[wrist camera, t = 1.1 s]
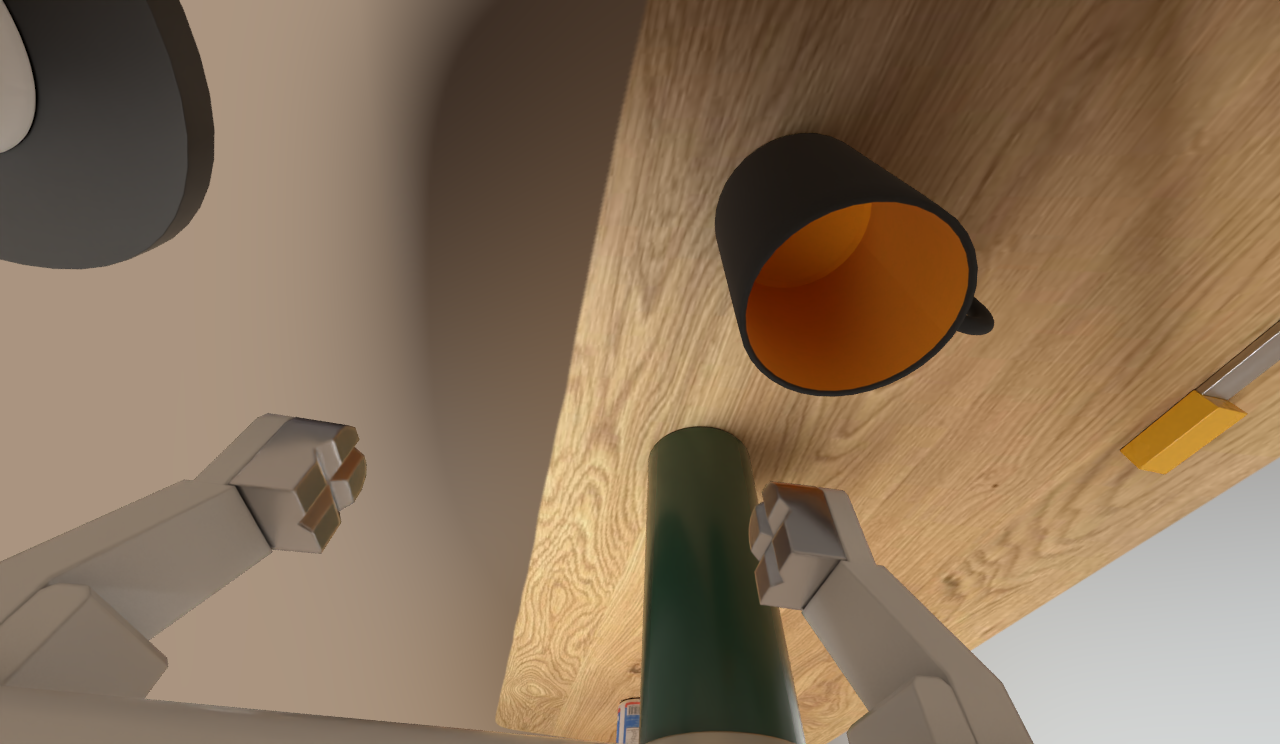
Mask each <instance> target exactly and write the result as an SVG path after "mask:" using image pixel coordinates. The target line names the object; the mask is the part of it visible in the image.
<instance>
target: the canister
mask: <svg viewBox="0 0 1280 744" xmlns="http://www.w3.org/2000/svg"><path fill="white" fill-rule="evenodd" d="M758 504H759V503H758V498H757V493H756V488H755V483H754V478H753V473H752V468H751V463H750V458H749V453H748V451H747V449H746V447H745V446H744V444H743V443H742V442H741V441H740V440H739V439H738V438H736V437H735V436H733V435H732V434H730V433H728V432H725V431H723V430H720V429H715V428H709V427H691V428H685V429H682V430H678V431H675V432H673V433H671V434H669V435H667V436H665V437H664V438H662V439H661V440H660V441H659V442H658V443H657V444H656V445H655V446H654V448H653V449H652V451H651V453H650V456H649V464H648V492H647V520H646V549H645V577H644V605H643V633H642V662H641V690H640V718H639V744H806V742H805V737H804V732H803V727H802V722H801V717H800V711H799V706H798V701H797V696H796V691H795V686H794V681H793V676H792V671H791V666H790V661H789V656H788V651H787V645H786V640H785V635H784V630H783V625H782V620H781V615H780V610H779V607H774V606H767V605H760V601H759V596H758V590H757V584H756V579H755V573H754V572H755V570H756V568H757V566H758V564H759V563H760V562H759V561H758V559H757V558H756V557H755V556H754V555H753V553H752V552H751V549H750V543H749V524H750V518H751V515H752V512H753V510H754V508H755V506H756V505H758Z"/></svg>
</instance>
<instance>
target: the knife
mask: <svg viewBox="0 0 1280 744" xmlns="http://www.w3.org/2000/svg"><path fill="white" fill-rule="evenodd" d="M1279 360H1280V321H1279V322H1278V323H1277V324H1275V325H1274V326H1273V327H1272V328H1271V329H1269V330H1268V331H1267V332H1266V333H1264V334H1263V335H1262V336H1261V337H1260V338H1258V339H1257V340H1256V341H1255V342H1253V343H1252V344H1251V345H1250V346H1249V347H1247V348H1246V349H1245V350H1244V351H1242V352H1241V353H1240V354H1239V355H1238V356H1236V357H1235V358H1234V359H1233V360H1231V361H1230V362H1229V363H1228V364H1227V365H1225V366H1224V367H1223V368H1222V369H1220V370H1219V371H1218V372H1217V373H1216V374H1214V375H1213V376H1212V377H1211V378H1209V379H1208V380H1207V381H1206V382H1205V383H1203V384H1202V385H1201V386H1200V387H1198V388H1197V389H1196V390H1193V391H1192V392H1191V393H1189V394H1188V395H1187V396H1186V397H1185V398H1183V399H1182V400H1181V401H1180V402H1179V403H1177V404H1176V405H1175V406H1174V407H1172V408H1171V409H1170V410H1169V411H1168V412H1166V413H1165V414H1164V415H1163V416H1161V417H1160V418H1159V419H1158V420H1157V421H1155V422H1154V423H1153V424H1152V425H1150V426H1149V427H1148V428H1147V429H1146V430H1144V431H1143V432H1142V433H1141V434H1139V435H1138V436H1137V437H1136V438H1135V439H1133V440H1132V441H1131V442H1130V443H1129V444H1127V445H1126V446H1125V447H1124V448H1122V449H1121V450H1120V452H1121V453H1123V454H1124V455H1125V456H1126V457H1127V458H1128V459H1129V460H1130V461H1131V462H1132V463H1133V464H1134V465H1135V466H1136V467H1137V468H1139V469H1141V470H1146V471H1151V472H1156V473H1161V474H1167V473H1168V472H1169V471H1171V470H1172V469H1174V468H1175V467H1176V466H1178V465H1179V464H1180V463H1182V462H1183V461H1185V460H1186V459H1187V458H1189V457H1190V456H1191V455H1193V454H1194V453H1195V452H1197V451H1198V450H1200V449H1201V448H1202V447H1204V446H1205V445H1206V444H1208V443H1209V442H1210V441H1212V440H1213V439H1215V438H1216V437H1217V436H1219V435H1220V434H1221V433H1223V432H1224V431H1225V430H1227V429H1228V428H1230V427H1231V426H1232V425H1234V424H1235V423H1236V422H1238V421H1239V420H1240V419H1242V418H1243V417H1245V416H1246V415H1247V413H1246V412H1244V411H1243V410H1241V409H1240V408H1238V407H1237V406H1235V405H1234V404H1232V403H1231V402H1229V401H1228V399H1230V398H1231V397H1232V396H1234V395H1235V394H1236V393H1238V392H1239V391H1240V390H1241V389H1243V388H1244V387H1245V386H1247V385H1248V384H1249V383H1251V382H1252V381H1253V380H1254V379H1256V378H1257V377H1258V376H1260V375H1261V374H1262V373H1263V372H1265V371H1266V370H1267V369H1269V368H1270V367H1271V366H1273V365H1274V364H1275V363H1276V362H1278V361H1279Z"/></svg>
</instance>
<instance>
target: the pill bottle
mask: <svg viewBox="0 0 1280 744" xmlns="http://www.w3.org/2000/svg"><path fill="white" fill-rule="evenodd" d="M639 718H640V699H629V700H625V701H623V702H621V703H620V705H619V708H618V721H617V739H616V743H621V744H639Z"/></svg>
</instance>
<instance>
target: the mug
mask: <svg viewBox="0 0 1280 744" xmlns="http://www.w3.org/2000/svg"><path fill="white" fill-rule="evenodd" d="M715 232H716V239H717V243H718V247H719V251H720V255H721V259H722V263H723V267H724V271H725V275H726V279H727V283H728V287H729V291H730V295H731V299H732V303H733V307H734V311H735V315H736V319H737V323H738V327H739V330H740V334H741V338H742V341H743V345H744V348H745V350H746V352H747V353H748V355H749V357H750V359H751V361H752V362H753V363H754V364H755V365H756V367H757V368H758V369H759V370H760V371H761V372H762V373H763V374H764V375H766V376H767V377H768V378H769V379H771V380H772V381H774V382H775V383H777V384H779V385H781V386H783V387H785V388H787V389H790V390H793V391H796V392H799V393H803V394H809V395H815V396H845V395H854V394H858V393H863V392H867V391H871V390H874V389H877V388H880V387H883V386H885V385H888V384H891V383H893V382H895V381H897V380H899V379H901V378H903V377H905V376H907V375H908V374H910V373H911V372H913V371H915V370H916V369H918V368H919V367H921V366H922V365H924V364H925V363H926V362H927V361H928V360H930V359H931V358H932V357H933V356H934V355H936V354H937V353H938V352H939V351H940V350H941V349H942V348H943V347H944V346H945V345H946V343H947V342H948V341H949V340H950V339H951V338H952V337H953V335H954V334H955V332H956V331H959V332H962V333H965V334H970V335H983V334H987V333H989V332H990V331H991V330H992V329H993V327H994V319H993V316H992V315H991V313H990V312H989V310H988V309H987V308H986V307H985V306H984V305H983V304H982V303H981V302H979V301H978V300H977V299H976V298H975V297H974V293H975V290H976V286H977V272H978V266H977V260H976V253H975V249H974V246H973V244H972V242H971V239H970V237H969V235H968V233H967V232H966V230H965V229H964V228H963V227H962V225H961V224H960V223H959V221H958V220H957V219H956V218H955V217H953V216H952V215H951V214H949V213H948V212H947V211H945V210H944V209H943V208H941V207H940V206H939V205H937V204H936V203H934V202H933V201H931V200H930V199H928V198H927V197H926V196H924V195H923V194H921V193H920V192H918V191H917V190H915V189H914V188H912V187H911V186H909V185H908V184H906V183H904V182H903V181H901V180H900V179H898V178H897V177H895V176H894V175H892V174H891V173H889V172H888V171H886V170H885V169H883V168H882V167H880V166H879V165H877V164H876V163H874V162H873V161H871V160H870V159H868V158H867V157H865V156H864V155H862V154H861V153H859V152H858V151H856V150H854V149H853V148H851V147H850V146H848V145H847V144H845V143H844V142H842V141H839V140H837V139H835V138H833V137H831V136H826V135H821V134H817V133H800V134H794V135H789V136H785V137H782V138H779V139H776V140H774V141H771V142H769V143H767V144H766V145H764V146H762V147H760V148H759V149H757V150H756V151H754V152H753V153H752V154H751V155H749V156H748V157H747V158H746V159H745V160H744V161H743V162H742V163H741V164H740V165H739V166H738V167H737V168H736V169H735V170H734V172H733V173H732V175H731V176H730V178H729V179H728V181H727V182H726V184H725V186H724V188H723V191H722V193H721V195H720V198H719V201H718V205H717V209H716V217H715ZM966 314H967V315H966Z"/></svg>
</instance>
